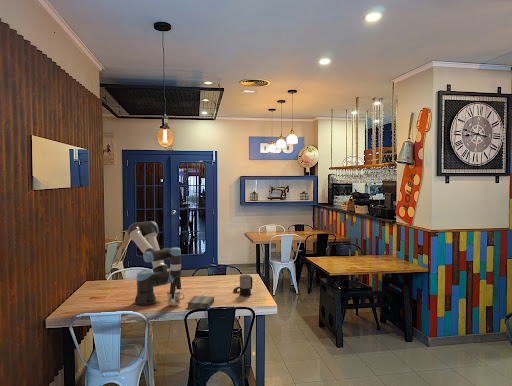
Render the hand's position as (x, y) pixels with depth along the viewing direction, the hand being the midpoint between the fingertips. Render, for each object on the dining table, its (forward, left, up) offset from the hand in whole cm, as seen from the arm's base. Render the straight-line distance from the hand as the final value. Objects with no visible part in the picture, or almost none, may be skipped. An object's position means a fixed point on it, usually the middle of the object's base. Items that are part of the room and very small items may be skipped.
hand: (175, 300), depth 266 cm
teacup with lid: (0, +1, -2) cm, 2 cm away
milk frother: (+42, +34, -4) cm, 54 cm away
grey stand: (+18, +4, -4) cm, 19 cm away
